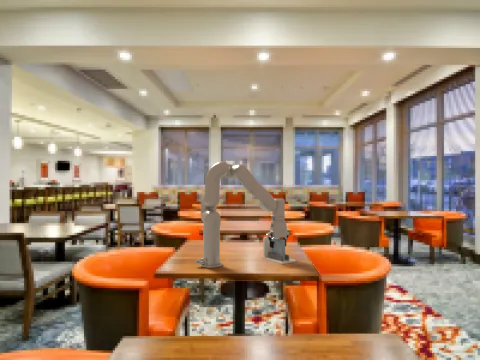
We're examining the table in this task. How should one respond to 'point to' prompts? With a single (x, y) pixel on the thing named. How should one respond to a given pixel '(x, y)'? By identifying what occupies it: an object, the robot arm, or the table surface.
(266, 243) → the cabinet base
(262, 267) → the table surface
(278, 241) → the door panel
